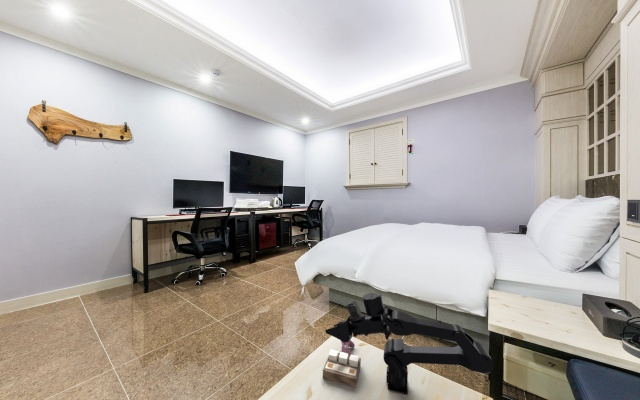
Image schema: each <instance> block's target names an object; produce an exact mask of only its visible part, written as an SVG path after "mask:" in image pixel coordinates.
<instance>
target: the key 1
mask: <svg viewBox="0 0 640 400" xmlns="http://www.w3.org/2000/svg"><path fill="white" fill-rule="evenodd" d="M338 353H339V351H338V350H334V349H330V350H329V353H328V357H329V361H333V362H337V359H338Z"/></svg>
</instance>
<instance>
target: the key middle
mask: <svg viewBox="0 0 640 400" xmlns="http://www.w3.org/2000/svg"><path fill="white" fill-rule="evenodd" d="M339 353H340V355H339V363H341V364H345V365H347V363H348V354H347V353H343V352H342V351H340V352H339Z"/></svg>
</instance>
